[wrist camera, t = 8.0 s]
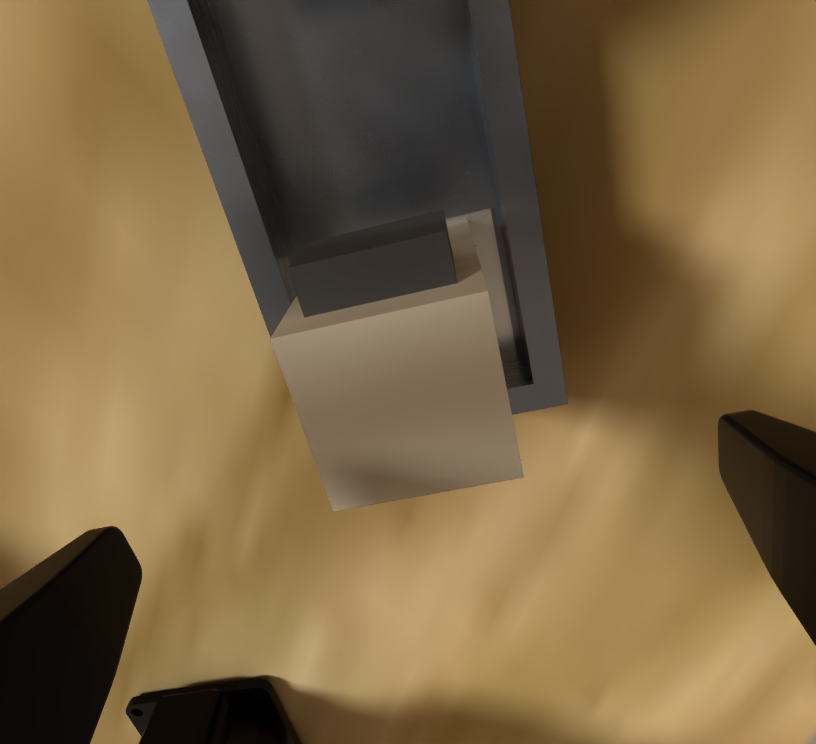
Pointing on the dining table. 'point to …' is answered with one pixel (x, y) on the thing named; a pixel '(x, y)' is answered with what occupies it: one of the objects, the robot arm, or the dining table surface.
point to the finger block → (397, 363)
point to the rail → (372, 143)
